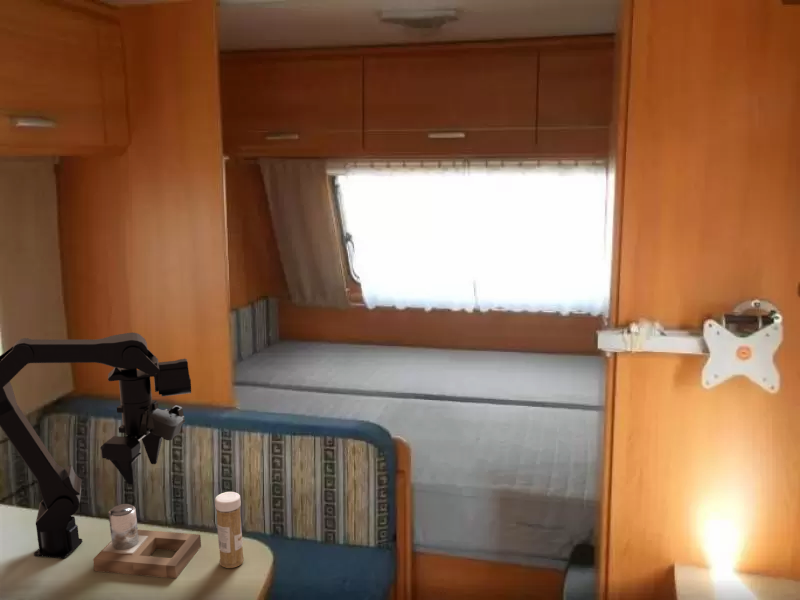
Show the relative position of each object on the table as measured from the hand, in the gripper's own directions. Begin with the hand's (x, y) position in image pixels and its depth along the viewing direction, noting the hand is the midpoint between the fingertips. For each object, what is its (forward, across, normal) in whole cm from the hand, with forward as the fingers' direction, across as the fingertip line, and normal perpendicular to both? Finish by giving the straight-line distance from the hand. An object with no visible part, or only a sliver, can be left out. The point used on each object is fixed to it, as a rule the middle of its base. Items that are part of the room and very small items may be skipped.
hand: (142, 473), depth 150 cm
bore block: (+13, -8, -4) cm, 16 cm away
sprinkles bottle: (+13, -7, -20) cm, 25 cm away
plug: (+10, -8, 0) cm, 13 cm away
